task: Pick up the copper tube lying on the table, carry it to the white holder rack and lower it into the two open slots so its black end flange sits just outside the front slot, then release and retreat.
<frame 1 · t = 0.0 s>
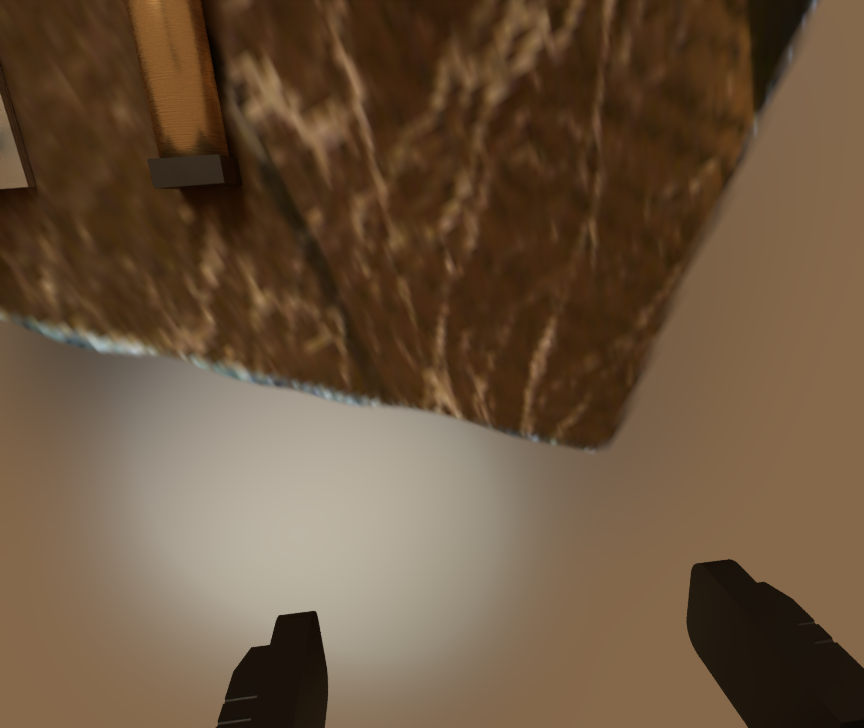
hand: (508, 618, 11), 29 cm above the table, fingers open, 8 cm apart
tube: (177, 18, 32), on the table
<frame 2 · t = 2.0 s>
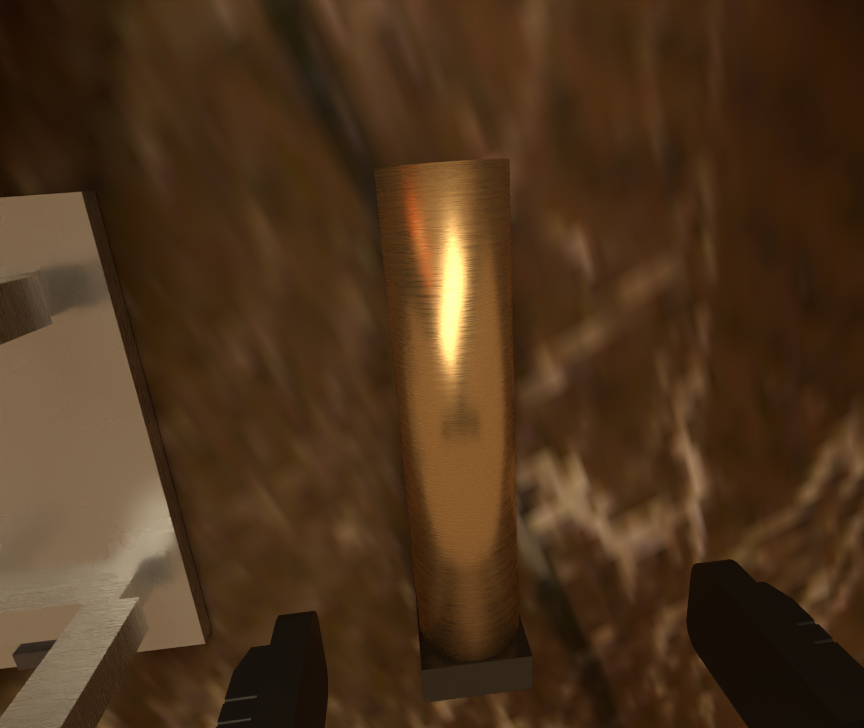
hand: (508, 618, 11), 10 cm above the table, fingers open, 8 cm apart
tube: (450, 413, 20), on the table
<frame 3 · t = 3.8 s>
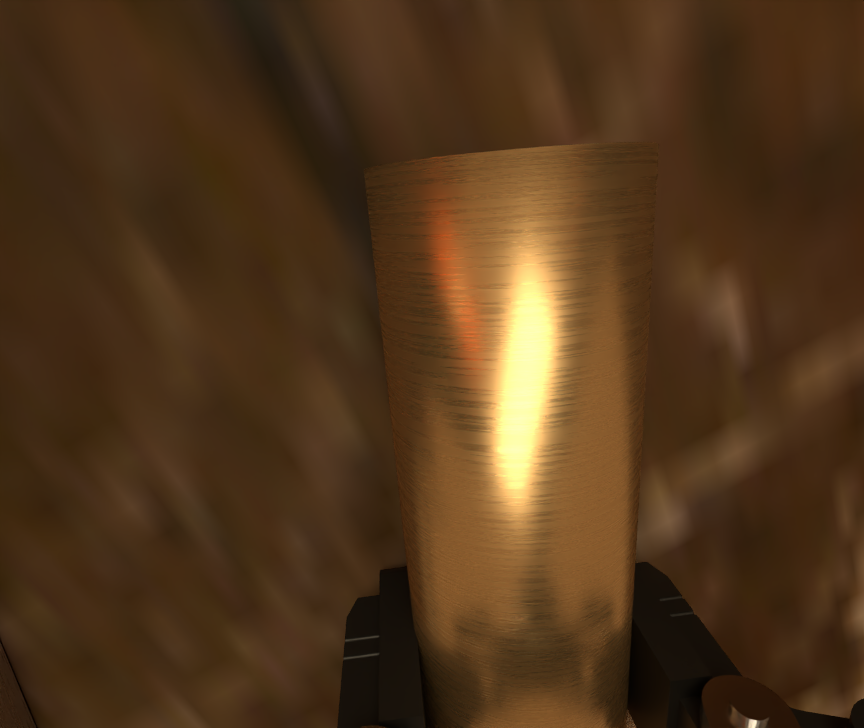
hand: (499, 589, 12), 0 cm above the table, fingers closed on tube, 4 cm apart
tube: (497, 580, 12), on the table, touching gripper
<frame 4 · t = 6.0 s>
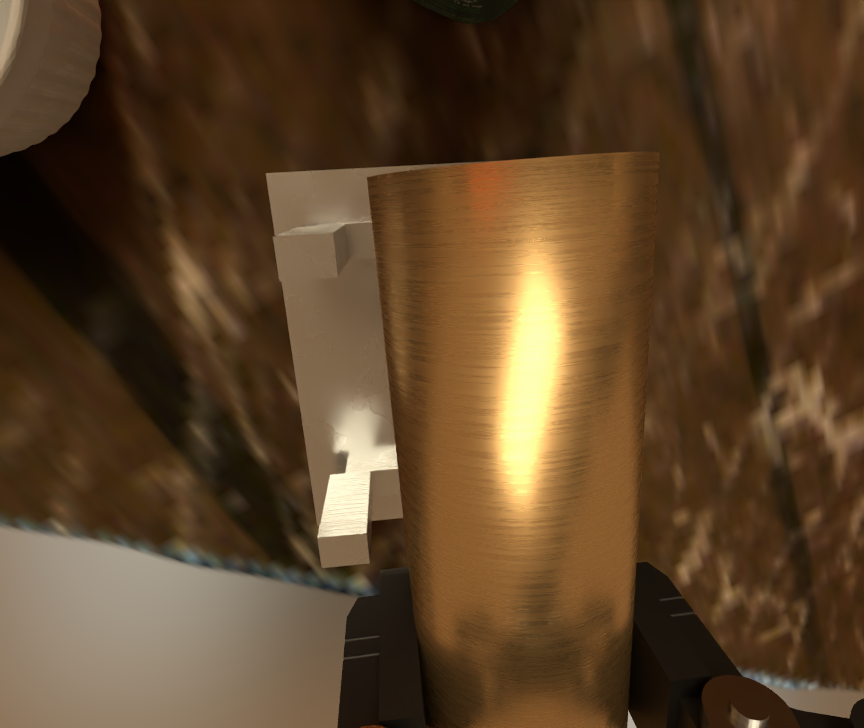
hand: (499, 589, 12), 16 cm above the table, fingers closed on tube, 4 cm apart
tube: (498, 583, 12), point 15 cm above the table, touching gripper
white holder rack: (416, 355, 26), on the table
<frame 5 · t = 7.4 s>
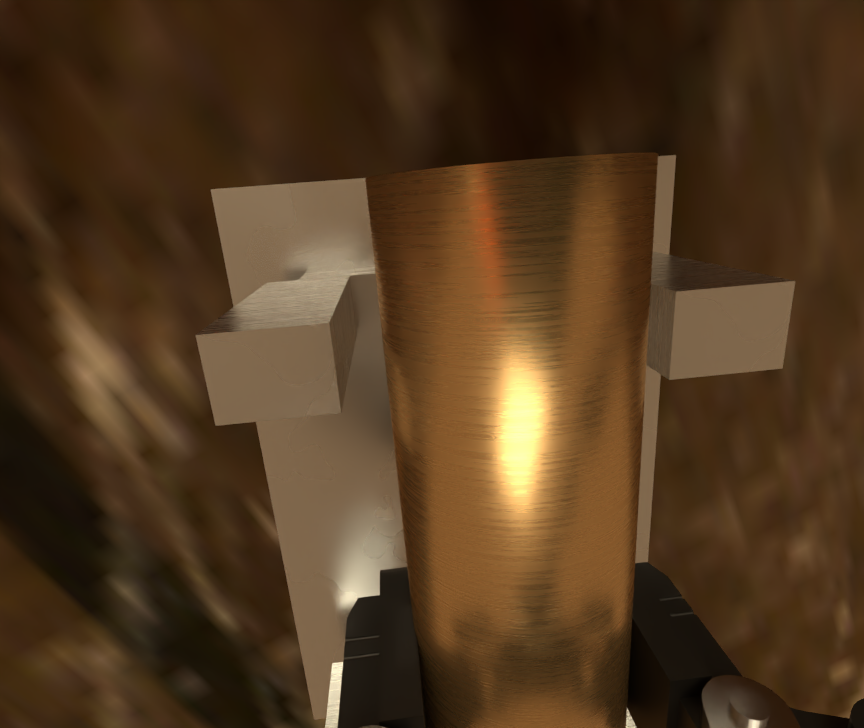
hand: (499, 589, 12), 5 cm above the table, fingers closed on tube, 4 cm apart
tube: (497, 584, 12), point 5 cm above the table, touching gripper
white holder rack: (463, 467, 17), on the table
when the fingers open (4 cm above the table, at t = 8.4 s): tube drops 1 cm, resting on white holder rack.
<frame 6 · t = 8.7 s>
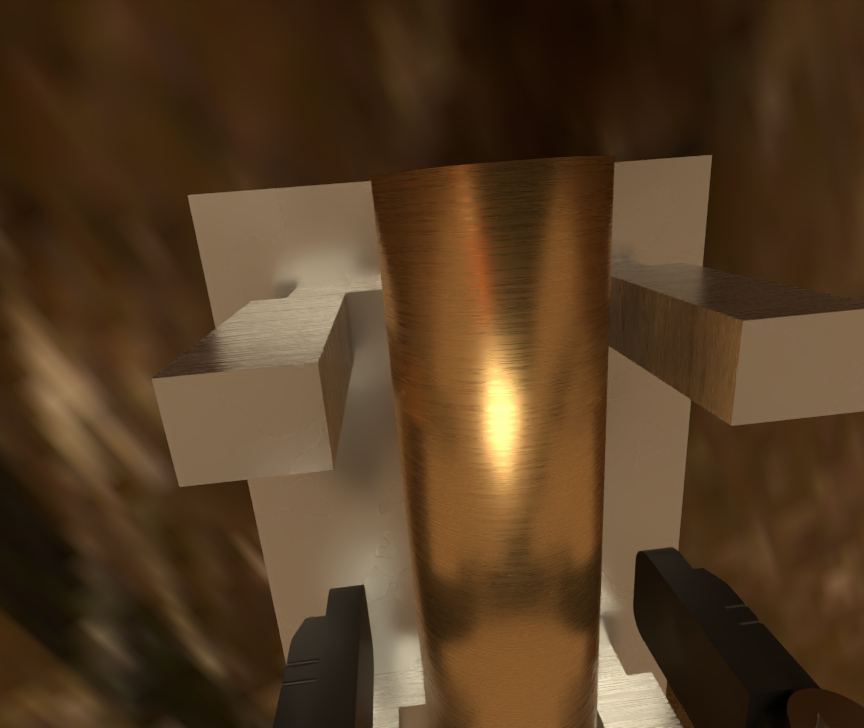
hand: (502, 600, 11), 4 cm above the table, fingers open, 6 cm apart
tube: (487, 542, 13), point 2 cm above the table, touching white holder rack
white holder rack: (472, 499, 15), on the table
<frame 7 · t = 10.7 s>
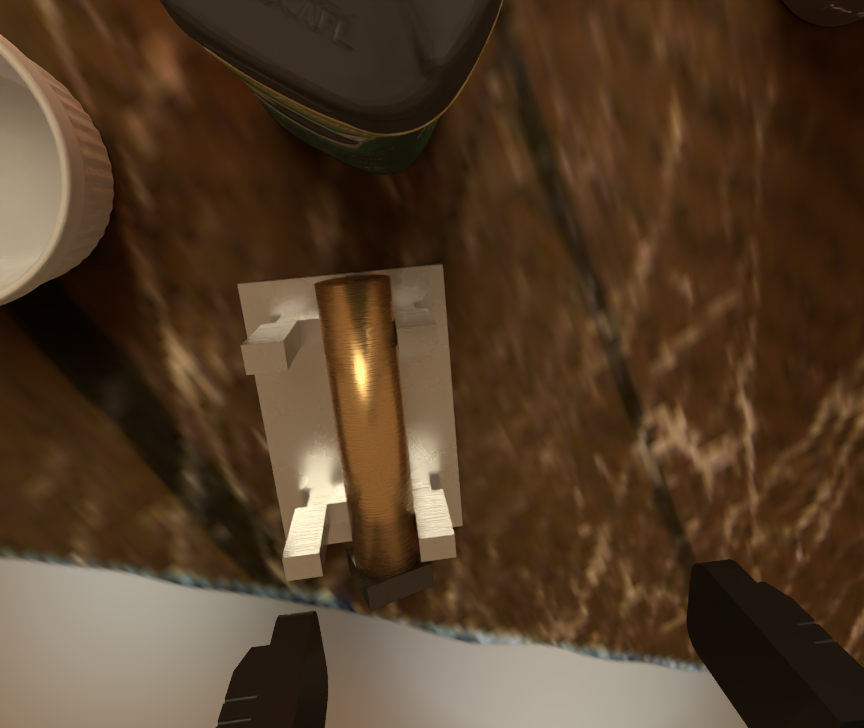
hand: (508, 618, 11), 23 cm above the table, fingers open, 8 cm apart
coffee jar: (355, 87, 29), on the table
ramekin: (11, 172, 28), on the table
tube: (361, 424, 32), point 2 cm above the table, tilted 19°, touching white holder rack
white holder rack: (360, 411, 34), on the table
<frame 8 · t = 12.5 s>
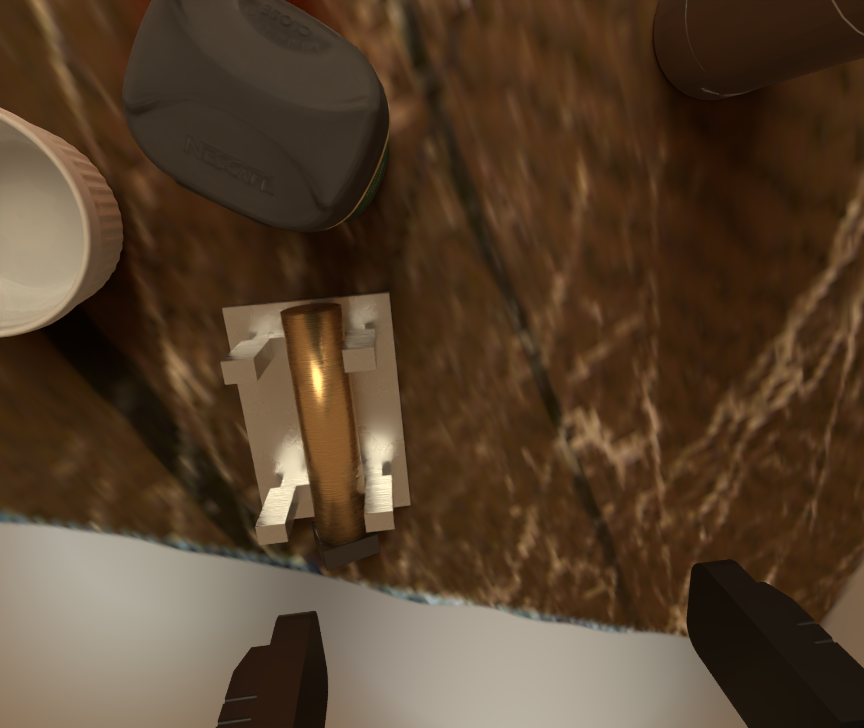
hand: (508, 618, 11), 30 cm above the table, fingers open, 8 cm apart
coffee jar: (316, 151, 36), on the table
ramekin: (42, 219, 35), on the table
tube: (322, 421, 39), point 2 cm above the table, tilted 19°, touching white holder rack
white holder rack: (324, 410, 41), on the table
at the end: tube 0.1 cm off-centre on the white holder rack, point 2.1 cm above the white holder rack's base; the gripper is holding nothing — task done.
